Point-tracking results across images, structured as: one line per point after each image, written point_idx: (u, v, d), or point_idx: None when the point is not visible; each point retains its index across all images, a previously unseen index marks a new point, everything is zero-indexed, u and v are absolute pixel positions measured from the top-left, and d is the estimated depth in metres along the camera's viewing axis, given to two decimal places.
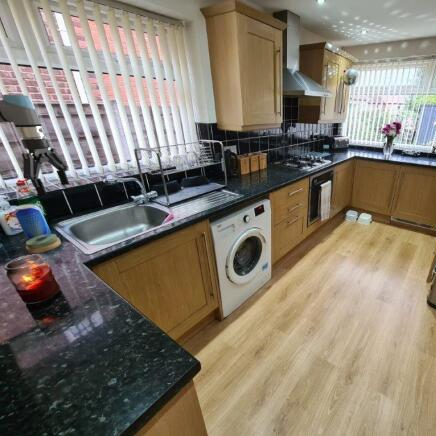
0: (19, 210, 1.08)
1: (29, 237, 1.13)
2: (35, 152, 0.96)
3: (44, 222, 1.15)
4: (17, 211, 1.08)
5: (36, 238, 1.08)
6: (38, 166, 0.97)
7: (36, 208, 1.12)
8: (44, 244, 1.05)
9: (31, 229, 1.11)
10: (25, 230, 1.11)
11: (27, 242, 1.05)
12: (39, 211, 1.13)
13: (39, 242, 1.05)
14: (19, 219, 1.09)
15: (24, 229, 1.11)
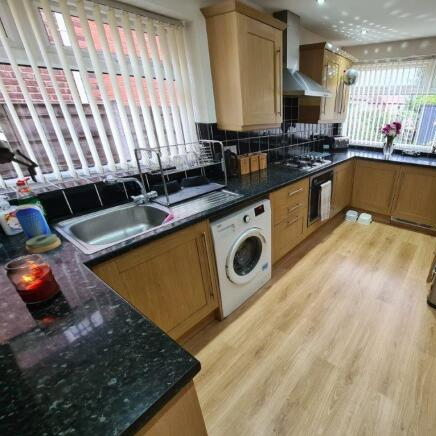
0: (19, 210, 1.08)
1: (29, 237, 1.13)
2: None
3: (44, 222, 1.15)
4: (17, 211, 1.08)
5: (36, 238, 1.08)
6: None
7: (36, 208, 1.12)
8: (44, 244, 1.05)
9: (31, 229, 1.11)
10: (25, 230, 1.11)
11: (27, 242, 1.05)
12: (39, 211, 1.13)
13: (39, 242, 1.05)
14: (19, 219, 1.09)
15: (24, 229, 1.11)
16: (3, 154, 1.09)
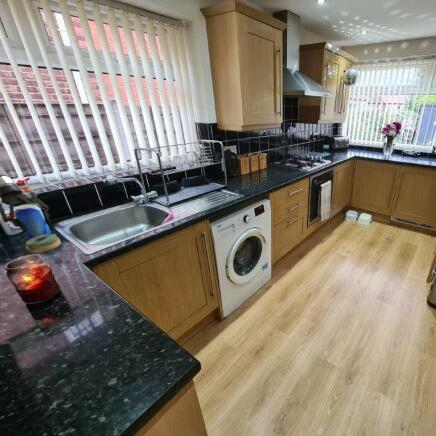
0: (19, 210, 1.08)
1: (29, 237, 1.13)
2: None
3: (44, 222, 1.15)
4: (17, 211, 1.08)
5: (36, 238, 1.08)
6: None
7: (36, 208, 1.12)
8: (44, 244, 1.05)
9: (31, 229, 1.11)
10: None
11: (27, 242, 1.05)
12: (39, 211, 1.13)
13: (39, 242, 1.05)
14: (19, 219, 1.09)
15: None
16: (19, 196, 1.13)
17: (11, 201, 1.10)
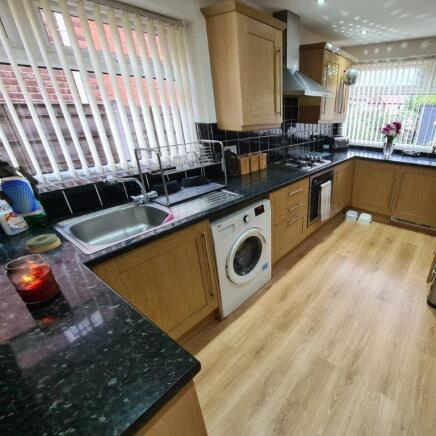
0: (5, 181, 0.98)
1: (16, 212, 1.03)
2: None
3: (33, 197, 1.06)
4: (3, 182, 0.98)
5: (36, 238, 1.08)
6: None
7: (24, 180, 1.03)
8: (44, 244, 1.05)
9: (18, 204, 1.02)
10: None
11: (27, 242, 1.05)
12: (27, 184, 1.03)
13: (39, 242, 1.05)
14: (5, 192, 0.99)
15: None
16: (5, 168, 1.03)
17: None
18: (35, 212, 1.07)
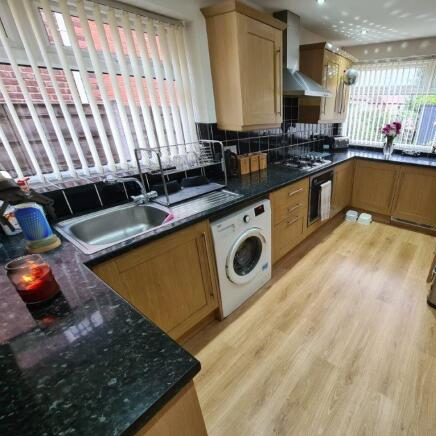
0: (18, 209, 0.98)
1: (29, 239, 1.03)
2: None
3: (45, 222, 1.06)
4: (16, 210, 0.98)
5: None
6: None
7: (37, 207, 1.02)
8: (44, 244, 1.05)
9: (31, 231, 1.02)
10: (25, 231, 1.02)
11: (27, 242, 1.05)
12: (40, 210, 1.03)
13: (39, 242, 1.05)
14: (18, 219, 0.99)
15: (24, 230, 1.01)
16: (17, 193, 1.03)
17: (8, 198, 1.01)
18: (47, 238, 1.07)
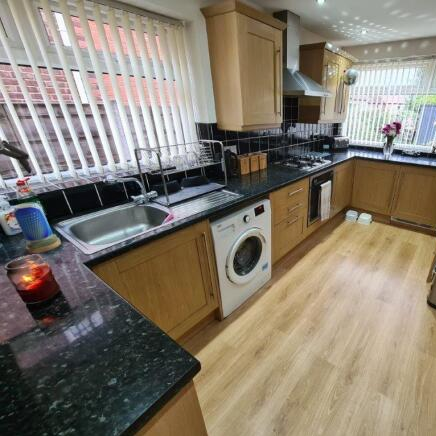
0: (18, 209, 0.98)
1: (29, 239, 1.03)
2: None
3: (45, 222, 1.06)
4: (16, 210, 0.98)
5: None
6: None
7: (37, 207, 1.02)
8: (44, 244, 1.05)
9: (31, 231, 1.02)
10: (25, 231, 1.02)
11: (27, 242, 1.05)
12: (40, 210, 1.03)
13: (39, 242, 1.05)
14: (18, 219, 0.99)
15: (24, 230, 1.01)
16: None
17: None
18: (47, 238, 1.07)
